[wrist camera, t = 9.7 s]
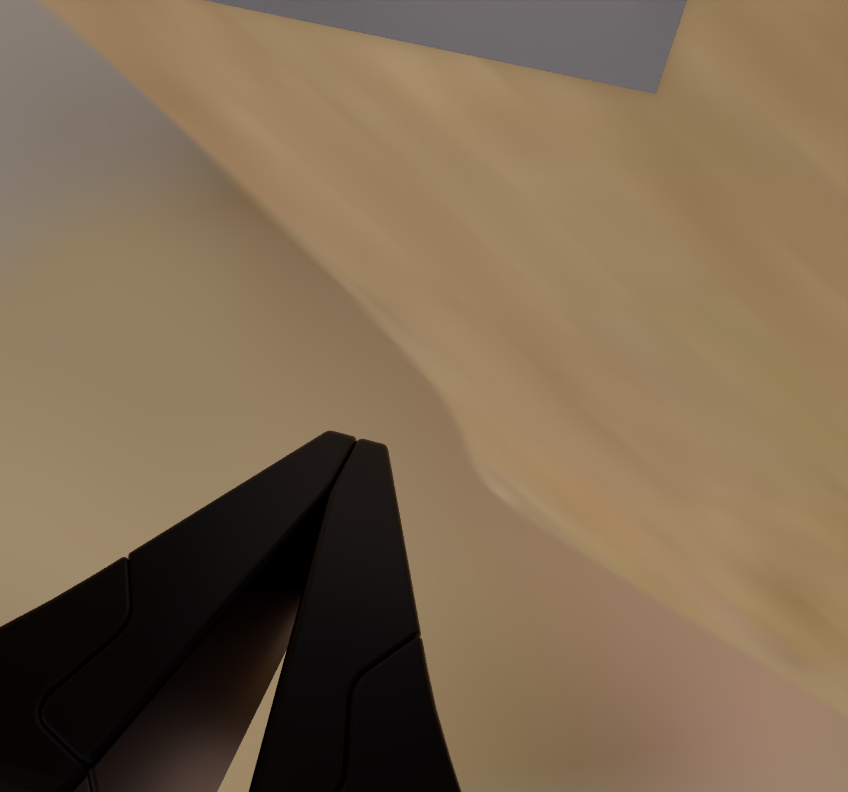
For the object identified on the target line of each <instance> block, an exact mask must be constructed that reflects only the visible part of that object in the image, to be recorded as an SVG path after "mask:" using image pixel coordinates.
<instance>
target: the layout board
mask: <svg viewBox="0 0 848 792" xmlns="http://www.w3.org/2000/svg"><path fill="white" fill-rule="evenodd" d="M206 1H211V2H216V3H221V4H225V5H230V6H235V7H240V8H245V9H250V10H254V11H259V12H264V13H269V14H274V15H279V16H283V17H288V18H293V19H298V20H303V21H307V22H312V23H317V24H322V25H327V26H332V27H336V28H341V29H346V30H351V31H356V32H361V33H365V34H370V35H375V36H380V37H385V38H390V39H394V40H399V41H404V42H409V43H414V44H418V45H423V46H428V47H433V48H438V49H443V50H447V51H452V52H457V53H462V54H467V55H472V56H476V57H481V58H486V59H491V60H496V61H500V62H505V63H510V64H515V65H520V66H525V67H529V68H534V69H539V70H544V71H549V72H554V73H558V74H563V75H568V76H573V77H578V78H583V79H587V80H592V81H597V82H602V83H607V84H611V85H616V86H621V87H626V88H631V89H636V90H640V91H645V92H650V93H655V94H656V91H657V88H658V85H659V82H660V79H661V76H662V73H663V70H664V67H665V64H666V61H667V58H668V55H669V52H670V49H671V46H672V43H673V40H674V37H675V34H676V31H677V28H678V25H679V22H680V19H681V16H682V13H683V10H684V7H685V4H686V1H687V0H206Z"/></svg>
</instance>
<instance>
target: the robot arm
mask: <svg viewBox="0 0 848 792" xmlns="http://www.w3.org/2000/svg"><path fill="white" fill-rule="evenodd" d="M420 636H421V632H420V626H419V620H418V615H417V609H416V604H415V598H414V593H413V587H412V581H411V575H410V570H409V565H408V559H407V553H406V548H405V542H404V536H403V531H402V525H401V519H400V514H399V508H398V503H397V497H396V491H395V486H394V480H393V475H392V469H391V464H390V458H389V452H388V449H387V447H386V446H385V445H384V444H381V443H377V442H374V441H370V440H366V439H359V440H358V441H356V438H355V437H353V436H350V435H346V434H343V433H339V432H335V431H326V432H324V433H323V434H321V435H320V436H318V437H316V438H315V439H313V440H311V441H310V442H308V443H307V444H305V445H303V446H302V447H300V448H299V449H297V450H295V451H294V452H292V453H290V454H289V455H287V456H286V457H284V458H282V459H281V460H279V461H278V462H276V463H274V464H273V465H271V466H269V467H268V468H266V469H265V470H263V471H262V472H260V473H258V474H257V475H255V476H253V477H252V478H250V479H249V480H247V481H245V482H244V483H242V484H240V485H239V486H237V487H236V488H234V489H232V490H231V491H229V492H227V493H226V494H224V495H223V496H221V497H219V498H218V499H216V500H215V501H213V502H211V503H210V504H208V505H206V506H205V507H203V508H202V509H200V510H198V511H197V512H195V513H194V514H192V515H190V516H189V517H187V518H185V519H184V520H182V521H181V522H179V523H177V524H176V525H174V526H173V527H171V528H169V529H168V530H166V531H165V532H163V533H161V534H160V535H158V536H156V537H155V538H153V539H152V540H150V541H148V542H147V543H145V544H143V545H142V546H140V547H139V548H137V549H135V550H134V551H132V552H131V553H129V555H128V559H127V558H126V557H122V558H120V559H119V560H117V561H116V562H114V563H112V564H111V565H109V566H108V567H106V568H104V569H103V570H101V571H99V572H98V573H96V574H94V575H93V576H91V577H89V578H88V579H86V580H84V581H83V582H81V583H79V584H77V585H76V586H74V587H72V588H71V589H69V590H67V591H65V592H64V593H62V594H60V595H59V596H57V597H55V598H53V599H52V600H50V601H48V602H46V603H45V604H42V605H41V606H39V607H37V608H35V609H33V610H31V611H29V612H28V613H26V614H24V615H22V616H20V617H18V618H16V619H14V620H12V621H10V622H9V623H7V624H5V625H3V626H1V627H0V792H217V791H218V788H219V786H220V785H221V782H222V781H223V779H224V777H225V774H226V772H227V770H228V768H229V766H230V764H231V762H232V760H233V758H234V756H235V754H236V752H237V750H238V748H239V746H240V744H241V742H242V740H243V738H244V736H245V734H246V732H247V729H248V728H249V725H250V723H251V721H252V719H253V717H254V715H255V713H256V711H257V709H258V707H259V705H260V703H261V701H262V699H263V697H264V695H265V693H266V691H267V689H268V687H269V684H270V682H271V680H272V678H273V676H274V674H275V672H276V670H277V668H278V666H279V664H280V662H281V660H282V658H283V656H284V654H285V652H286V655H285V659H284V662H283V666H282V670H281V674H280V677H279V681H278V685H277V688H276V692H275V696H274V699H273V704H272V707H271V711H270V715H269V718H268V722H267V726H266V729H265V733H264V737H263V740H262V744H261V748H260V752H259V755H258V760H257V763H256V767H255V770H254V774H253V778H252V782H251V786H250V789H249V792H461V789H460V786H459V783H458V780H457V777H456V774H455V771H454V768H453V765H452V761H451V758H450V755H449V752H448V748H447V744H446V741H445V738H444V734H443V731H442V727H441V724H440V720H439V717H438V713H437V710H436V705H435V700H434V696H433V691H432V687H431V682H430V677H429V673H428V669H427V663H426V657H425V652H424V646H423V641H422V639H421V638H420ZM286 650H287V651H286Z"/></svg>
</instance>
